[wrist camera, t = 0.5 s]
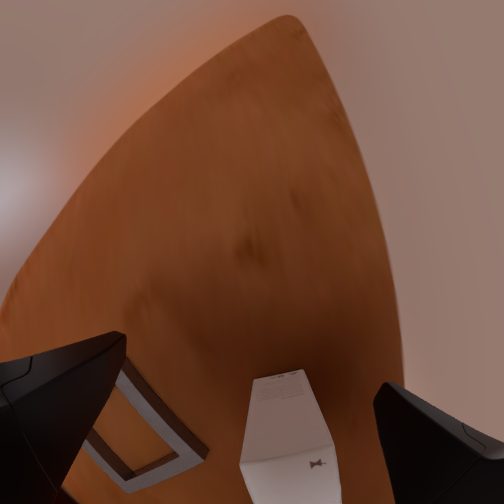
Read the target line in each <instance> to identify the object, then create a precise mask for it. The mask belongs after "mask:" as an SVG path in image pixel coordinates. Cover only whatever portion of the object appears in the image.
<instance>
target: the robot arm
mask: <svg viewBox="0 0 504 504" xmlns="http://www.w3.org/2000/svg"><path fill="white" fill-rule="evenodd" d="M126 342H127V338H126V335H125V334H123V333H120V332H117V331H112V332H109V333H106V334H102V335H99V336H96V337H93V338H89V339H86V340H83V341H80V342H76V343H73V344H70V345H66V346H63V347H59V348H56V349H53V350H49V351H46V352H42V353H39V354H35V355H33V356H28V357H24V358H20V359H16V360H12V361H8V362H3V363H0V504H53V502H54V500H55V498H56V496H57V492H58V491H59V489H60V487H61V485H62V483H63V481H64V479H65V477H66V475H67V473H68V471H69V469H70V467H71V465H72V464H73V462H74V460H75V458H76V456H77V454H78V452H79V450H80V448H81V447H82V445H83V443H84V441H85V439H86V437H87V436H88V434H89V432H90V430H91V428H92V427H93V425H94V423H95V421H96V419H97V418H98V416H99V414H100V412H101V411H102V409H103V407H104V405H105V404H106V402H107V400H108V398H109V396H110V394H111V392H112V390H113V387H114V385H115V383H116V380H117V378H118V376H119V373H120V371H121V369H122V366H123V364H124V362H125V358H126ZM373 407H374V413H375V418H376V424H377V430H378V435H379V440H380V443H381V447H382V451H383V454H384V458H385V462H386V466H387V470H388V474H389V478H390V482H391V486H392V490H393V495H394V499H395V504H504V443H503V442H501V441H499V440H496V439H494V438H492V437H490V436H488V435H486V434H484V433H481V432H479V431H477V430H475V429H474V428H472V427H470V426H468V425H466V424H464V423H463V422H461V421H459V420H457V419H455V418H454V417H452V416H450V415H448V414H446V413H445V412H443V411H441V410H439V409H438V408H436V407H435V406H432V405H431V404H429V403H428V402H426V401H424V400H423V399H421V398H419V397H418V396H416V395H414V394H413V393H411V392H409V391H408V390H406V389H404V388H403V387H401V386H399V385H398V384H396V383H394V382H385V383H383V384H382V386H381V388H380V389H379V391H378V393H377V394H376V396H375V398H374V400H373Z"/></svg>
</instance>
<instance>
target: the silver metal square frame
mask: <svg viewBox="0 0 504 504" xmlns="http://www.w3.org/2000/svg"><path fill="white" fill-rule="evenodd" d="M115 385H117V387H118V388H119V389H120V390H121V392H122V393H123V394H124V395H125V397H126V398H127V399H128V400H129V402H130V403H131V404H132V405H133V406H134V408H135V409H136V410H137V411H138V412H139V413H140V415H141V416H142V417H143V418H144V419H145V420H146V421H147V423H148V424H149V425H150V426H151V427H152V428H153V429H154V430H155V431H156V432H157V433H158V434H159V435H160V436H161V438H162V439H163V440H164V441H165V442H166V443H167V444H168V445H169V446H170V447H171V448H172V449H173V450H174V451H175V452H173V453H171V454H169V455H167V456H166V457H164V458H162V459H160V460H158V461H156V462H154V463H151V464H149V465H147V466H145V467H143V468H141V469H139V470H137V471H134V472H132V471H131V470H130V469H129V468H128V467H127V466H126V465H125V464H124V463H123V462H122V461H121V460H120V459H119V458H118V457H117V456H116V454H115V453H114V452H113V451H112V450H111V449H110V448H109V447H108V446H107V445H106V443H105V442H104V441H103V440H102V439H101V438H100V437H99V435H98V434H97V433H96V432H95V431H94V429H93V428H91V430H90V432H89V434H88V436H87V437H86V439H85V441H84V443H83V445H82V447H83V448H84V450H85V451H86V452H87V453H88V454H89V455H90V456H91V458H92V459H93V460H94V461H95V462H96V463H97V464H98V465H99V466H100V467H101V468H102V469H103V471H104V472H105V473H106V474H107V475H108V476H109V477H110V478H111V479H112V480H113V481H114V482H115V483H117V484H118V485H119V486H120V487H121V488H122V489H123V490H124V491H125V492H126V493H127V494H130V493H133V492H135V491H138V490H141V489H143V488H146V487H149V486H151V485H154V484H156V483H158V482H161V481H163V480H166V479H168V478H170V477H172V476H175V475H177V474H179V473H181V472H183V471H185V470H188V469H190V468H192V467H194V466H196V465H198V464H200V463H202V462H204V461H205V459H206V456H207V454H208V451H209V449H208V448H207V447H206V446H205V445H203V444H202V443H201V442H200V441H199V440H198V439H197V438H196V437H195V436H194V435H193V434H192V433H191V432H190V431H189V430H188V429H187V428H186V427H185V426H184V425H183V424H182V423H181V421H180V420H179V419H178V418H177V417H176V416H175V415H174V414H173V413H172V412H171V411H170V410H169V408H168V407H167V406H166V405H165V404H164V403H163V402H162V401H161V399H160V398H159V397H158V396H157V395H156V394H155V392H154V391H153V390H152V389H151V388H150V386H149V385H148V384H147V383H146V382H145V380H144V379H143V378H142V377H141V375H140V374H139V373H138V371H137V370H136V369H135V368H134V366H133V365H132V364H131V362H130V361H129V360H128V358H127V357H126V358H125V362H124V364H123V366H122V369H121V371H120V373H119V376H118V378H117V380H116V383H115Z"/></svg>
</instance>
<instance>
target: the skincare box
mask: <svg viewBox="0 0 504 504" xmlns="http://www.w3.org/2000/svg"><path fill="white" fill-rule="evenodd" d="M239 465H240V469H241V472H242V475H243V477H244V480H245V483H246V486H247V488H248V491H249V494H250V496H251V498H252V501H253V503H254V504H342V501H341V484H340V479H339V471H338V465H337V457H336V452H335V446H334V443H333V440H332V437H331V434H330V432H329V429H328V427H327V425H326V422H325V420H324V418H323V415H322V413H321V410H320V408H319V406H318V403H317V401H316V398H315V396H314V394H313V391H312V389H311V386H310V384H309V381H308V379H307V376H306V374H305V372H304V370H303V369H300V370H296V371H292V372H288V373H283V374H279V375H274V376H269V377H264V378H258V379H254V380H253V386H252V393H251V399H250V405H249V410H248V417H247V423H246V429H245V435H244V440H243V446H242V452H241V458H240V464H239Z"/></svg>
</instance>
